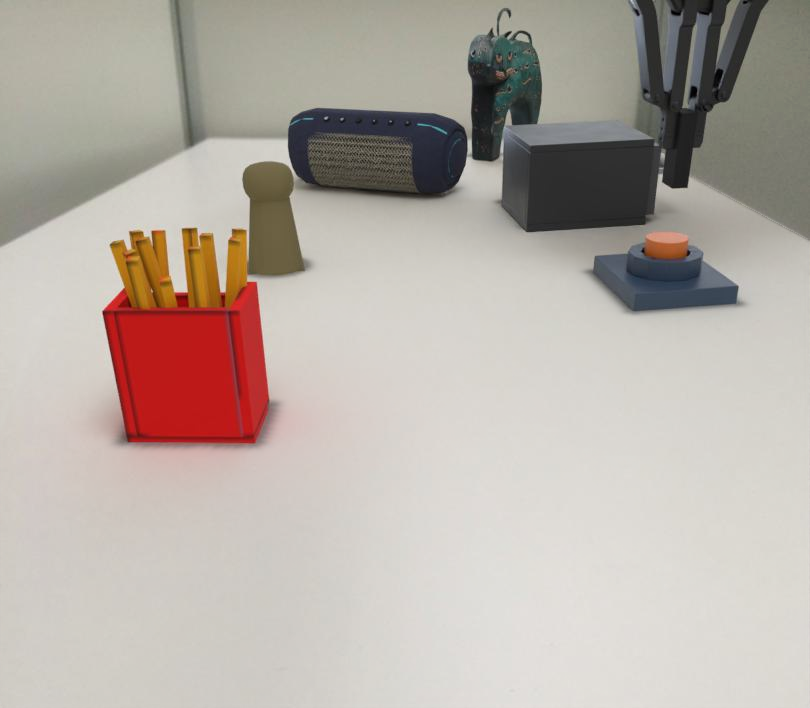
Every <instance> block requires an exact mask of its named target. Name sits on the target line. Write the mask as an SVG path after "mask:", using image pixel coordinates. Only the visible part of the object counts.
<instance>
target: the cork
mask: <svg viewBox="0 0 810 708" xmlns="http://www.w3.org/2000/svg"><path fill="white" fill-rule="evenodd" d="M294 178H295V177H294V175H293V172H292V169H291V167H290V166H289V165H287V164H286V163H284V162H279V161H274V160H273V161H272V160H271V161H270V160H268V161H266V160H265V161H259V162H255V163H252V164H249V165H248V166H246V167H245V168H244V170H243V172H242V178H241V181H242V188H243V190H244V192H245V193H244V194H245V195H246V196H247V197H248V198H249V219H248V221H249V223H248V267H247V274H248V275H249V276H250V275H251V276H252V275H259V276H283V275H289V274H293V273H297V272H305V271H306V269H305V265H304V259H303V255H302V250H301V245H300V239H299V235H298V231H297V226H296V222H295V221H296V220H295V215H294V211H293V207H292V203H291V202H292V201H291V198H290V196H291V194H292V193H293V192H294V186H295V179H294Z"/></svg>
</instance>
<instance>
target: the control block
mask: <svg viewBox="0 0 810 708" xmlns="http://www.w3.org/2000/svg"><path fill="white" fill-rule="evenodd" d="M644 250H645V241H644V242H640V243H638V244H634V245H631V246H630V248H629V249H628V251H627V253H617V254H616V253H615V254H601V255H600V254H599V255H594V259H593V270H592V273H593V274H594V275H595V276H596V277H597V278H598V279H599V280H600V281H601V282H602V283H604V285H605V286H606V287H608V288H609V289H610V291H612V292H613V293H614V294H615V295H616V296H617V297H618V298H619V299H620V301H622V302H623V303H624V304H625V305H626V306H627V307H628V308H629V309H630V310H631V311H632V312H643V311H645V312H647V311H657V310H659V311H661V310H671V309H672V310H673V309H684V308H697V307H712V306H724V305H725V306H726V305H736V304H737V301H738V294H739V288H740V286H739V284H737V283H735V282H734V281H732V280H731V279H730V278H729V277H727V276H725V275H724V274H723V273H722V272H720V271H718V270H717V269H716V268H714V267H713V266H712V265H710V264H709V263H707V262H706V261H705V260H704V250H701V249H700V248H698V247H697V246H695V245H691V244H688V250H687V256H686V257H683V258H675V259H664V258H654V257H650V256H647V255H645V254H644Z"/></svg>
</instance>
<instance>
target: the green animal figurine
mask: <svg viewBox="0 0 810 708" xmlns="http://www.w3.org/2000/svg"><path fill="white" fill-rule="evenodd" d="M504 12H506V13H507V16H508V18H509V19H511V17H512V9H510V8H509V7H503V8H501V9H500V11H499V12H498V14H497V18H496V22H497V23H496V35H495V33H494V27H493V26H492V27H491V28H490V30H489V31H488V33H487V34H477V35H476V36H474V38H473V39H472V41H471V43H470V44H469V49H468V55H467V73H468V75H469V78H470V80H471V105H470V117H471V119H470V121H471V158H472V160H475V161H485V162H493V161H495V160H497V159H499V158H500V154H501V146H502V141H503V135H504V126H506V120H507V115H508V112H509V113H510V119H511V125H530V124H539V119H540V112H541V106H542V98H543V97H542V96H543V80H542V72H541V71H542V70H541V64H540V59H539V55H538V53H537V50H536V48H535V47H534V46H533V39H532V35H531V34H530V32H528V31H527V30H521V29H520V30H517V31H515V32H514V33H513V34H512V31H513V30H508V31H506V32H504V33H502V34H500V21H501V18H502V15H503V14H504ZM511 34H512V35H511ZM519 34H523V35H525V36H527V39H528V41H523V40H519V39H517V37H518V35H519ZM510 35H511V36H510ZM509 36H510V37H509ZM508 37H509V39H508Z"/></svg>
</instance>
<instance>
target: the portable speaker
mask: <svg viewBox="0 0 810 708" xmlns="http://www.w3.org/2000/svg"><path fill="white" fill-rule="evenodd" d="M466 131H467V130H466V128H465V127H464V126H463V125H462V124H460V123H459V122H458V121H457V120H455V119H454V118H450V117H447V116H445V115H441V114H438V113H436V112H433V113H432V112H418V111H416V112H415V111H397V110H396V111H395V110H394V111H393V110H376V109H375V110H374V109H373V110H371V109H355V108H354V109H353V108H335V107H334V108H333V107H332V108H331V107H314V108H310V109H307V110H303V111H300V112H299V113H297V114H296V115H294V116H293V117H292V118H291V120H290V122H289V125H288V129H287V152H288V157H289V161H290V164H291V168H292V170H293V171H294V173H295V174H296V177H298V178H299V179H301V180H302V181H303V182H304V183H306V184H310V185H312V186H313V185H314V186H318V187H330V188H342V189H355V190H365V191H366V190H367V191H380V192H381V191H382V192H391V193H403V194H405V193H406V194H416V195H428V196H432V195H439V194H443V193H445V192H449V191H451V190H453V188H455V186H456V185H457V184H458V183H459V182H460V180H461V177H462V175H463V173H464V170H465V167H466V164H467V159H468V152H469V151H468V150H469V148H468V147H469V143H468V134H467V132H466Z"/></svg>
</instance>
